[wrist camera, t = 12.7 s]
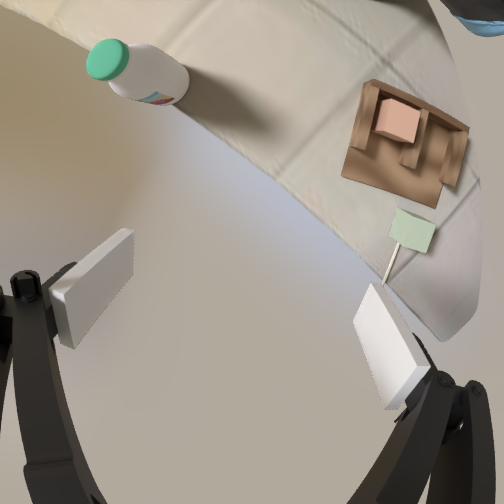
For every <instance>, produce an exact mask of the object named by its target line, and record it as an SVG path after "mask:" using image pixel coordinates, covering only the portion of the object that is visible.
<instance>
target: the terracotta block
mask: <svg viewBox="0 0 504 504" xmlns="http://www.w3.org/2000/svg"><path fill="white" fill-rule="evenodd" d="M419 117H420V111H418V110H415V109H413V108H411V107H409V106H407V105H405V104H403V103H400V102H398V101H396V100H394V99H387V100H383V101H379V102H377V103H376V107H375V111H374V116H373V120H372V124H371V128H370V131H372V132H375V133H378V134H380V135H383V136H386V137H388V138H391V139H393V140H396V141H401V142H409V143H414V139H415V135H416V130H417V126H418V121H419Z"/></svg>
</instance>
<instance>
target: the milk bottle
mask: <svg viewBox="0 0 504 504" xmlns="http://www.w3.org/2000/svg"><path fill="white" fill-rule="evenodd" d="M86 68H87V71H88V73H89V75H90V76H91V77H93V78H94V79H97V80H101V81H105V82H109V84H110V86H111V87H112V89H113V90H114V91H115V92H116V93H118V94H119V95H120V96H122V97H125V98H128V99H131V100H135V101H140V102H145V103H150V104H155V105H162V106H164V105H165V106H166V105H171V104H173V103H175V102H177V101H179V100H180V99H181V98H182V97H183V96H184V95H185V93H186V91H187V89H188V87H189V82H190V79H189V74H188V71H187V70H186V68H185V67H184V66H183V65H182V64H180V63H179V62H178V61H176V60H175V59H174V58H172V57H171V56H169V55H168V54H166V53H165V52H163V51H162V50H160V49H158V48H157V47H155V46H152V45H149V44H141V43H140V44H132V45H127V44H125V43H123V42H121V41H119V40H117V39H106V40H103V41H101V42H99V43H98V44H97V45H96V46H95V47H94V48H93V49H92V50H91V52H90V54H89V55H88V59H87V62H86Z"/></svg>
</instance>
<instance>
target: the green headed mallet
mask: <svg viewBox="0 0 504 504" xmlns="http://www.w3.org/2000/svg"><path fill="white" fill-rule="evenodd" d="M435 227H436V225H435V224H434V223H432V222H430V221H428V220H427V219H425V218H423V217H421V216H419V215H417V214H414V213H411V212H408V211H406V210H403V209H400V208H397V211H396V214H395V217H394V220H393V223H392V226H391V229H390V232H389V235H390V236H391V237H392V238H393V239H395V240H396V241H397V245H396V247H395V250H394V253H393V255H392V258H391V261H390V263H389V266H388V268H387V271H386V273H385V276H384V278H383V280H382V283H381V285H382V286H383V285H384V284H385V281H386V279H387V276H388V274H389V272H390V269H391V267H392V264H393V262H394V259H395V256H396V254H397V251H398V249H399V246H400V244H401V245H402V246H403V247H407V248H410V249H413V250H417V251H420V252H423V253H426V252H427V249H428V246H429V244H430V241H431V238H432V236H433V233H434V230H435Z"/></svg>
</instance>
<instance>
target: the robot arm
mask: <svg viewBox="0 0 504 504" xmlns="http://www.w3.org/2000/svg"><path fill="white" fill-rule="evenodd" d="M441 1H442V3H443V4H444V5H445V6H446V7H447V8H448V9H449V10H450V12H451V13H452V15H453V16H455V17H456V18H457V19H458V20H459V21H460V22H461V23H462V24H463V25H464V26H465V27H466V28H467V29H468V30H469V31H471V32H472V33H474V34H476V35H478V36H483V37H492V36H500V35H504V0H441ZM134 234H135V231H134V230H130V229H126V228H122V229H120V230H119V231H118V232H116V233H115V234H114V235H112V236H111V237H110V238H108V239H107V240H106V241H105V242H103V243H102V244H101V245H99V246H98V247H97V248H96V249H94V250H93V251H92V252H91V253H90V254H88V255H87V256H86V257H85V258H83V259H82V260H81V261H80V262H79V263H77V262H72V263H70V264H67V265H65V266H64V267H63V268H61V269H60V270H59V272H57V273H55V274H54V276H52V277H51V278H49V279H48V280H47V281H46V282H45V283H44V284H42V285H41V283H40V277H39V274H38V273H37V272H35V271H32V270H24V271H20V272H18V273H16V274H14V275H13V276H12V277H11V279H10V283H11V288H12V292H13V296H7V295H4V294H3V290H2V287H1V286H0V430H1V420H2V412H3V404H4V397H5V390H6V386H7V380H8V375H9V370H10V365H11V361H12V357H13V376H14V387H15V398H16V406H17V413H18V420H19V425H20V431H21V436H22V441H23V446H24V451H25V455H26V459H27V464H26V465H25V466H24V470H23V472H24V477H25V480H26V484H27V487H28V490H29V494H30V497H31V500H32V502H33V504H107V502H106V500H105V499H104V497H103V495H102V494H101V492H100V490H99V489H98V487H97V485H96V483H95V481H94V478H93V476H92V474H91V471H90V469H89V467H88V464H87V462H86V459H85V457H84V454H83V452H82V449H81V446H80V443H79V440H78V437H77V435H76V431H75V428H74V425H73V422H72V419H71V415H70V412H69V408H68V405H67V401H66V397H65V393H64V389H63V385H62V381H61V376H60V371H59V367H58V362H57V356H56V350H55V345H54V341H53V338H54V337H55V336H56V335H57V333H58V336H59V340H60V343H61V344H63V345H65V346H67V347H70V348H72V349H75V348H76V347H77V346H78V344H79V343H80V342H81V340H82V339H83V338H84V336H85V335H86V333H87V332H88V331H89V330H90V328H91V327H92V326H93V324H94V323H95V322H96V320H97V319H98V318H99V316H100V315H101V314H102V313H103V311H104V310H105V309H106V308H107V306H108V305H109V304H110V303H111V301H112V300H113V299H114V297H115V296H116V295H117V294H118V292H119V291H120V290H121V289H122V287H123V286H124V285H125V284H126V283H127V282H128V280H129V279H130V278H131V277H132V275H133V255H134ZM353 323H354V326H355V329H356V332H357V334H358V337H359V339H360V342H361V345H362V348H363V350H364V353H365V356H366V358H367V361H368V364H369V367H370V370H371V373H372V376H373V379H374V381H375V384H376V387H377V390H378V393H379V397H380V400H381V402H382V406H383V409H384V410H391V409H392V410H393V409H398V408H399V407H400V406H401V404H402V403H403V402H404V401H405V403H406V405H407V408H406V409H405V410H404V411H403V412H402V413H401V415H400V416H399V417H398V418H397V419H396V420H395V421H394V422H395V423H396V422H397V421H398V422H397V424H396V426H395V428H394V430H393V432H392V434H391V436H390V437H389V439H388V441H387V443H386V445H385V446H384V448H383V450H382V451H381V453H380V455H379V457H378V458H377V460H376V461H375V463H374V465H373V466H372V468H371V469H370V471H369V473H368V474H367V476H366V477H365V479H364V480H363V482H362V483H361V484H360V486H359V487H358V489H357V490H356V492H355V493H354V494H353V496H352V497H351V499H350V500H349V501H348V503H347V504H418V502H419V499H420V497H421V495H422V493H423V491H424V488H425V486H426V484H427V481H428V479H429V476H430V474H431V477H430V483H429V490H428V495H427V500H426V504H495V492H496V472H495V451H494V440H493V430H492V423H491V415H490V409H489V403H488V397H487V393H486V390H485V388H484V387H483V385H482V384H481V383H480V382H477V381H474V380H471V381H469V382H468V383H467V384H466V386H465V387H461V386H457V385H456V384H455V381H454V379H453V378H452V377H451V376H450V375H449V374H448V373H446V372H444V371H438V370H437V368H436V366H435V364H434V363H433V361H432V359H431V357H430V355H429V354H427V353H428V352H427V350H426V349H425V348H424V345H423V343H422V342H421V340H420V339H419V338H418V337H417V336H416V335H415V334H414V333H412V332H411V331H410V329H409V327H408V325H407V324H406V322H405V320H404V319H403V317H402V315H401V314H400V312H399V311H398V309H397V307H396V306H395V304H394V303H393V301H392V300H391V298H390V296H389V295H388V293H387V292H386V290H385V289H384V287H383V286H382V285H381V284H375V283H370V286H369V287H368V290H367V292H366V294H365V297H364V299H363V301H362V303H361V305H360V307H359V310H358V312H357V314H356V316H355V318H354V320H353ZM462 423H463V425H462V427H461V429H460V425H461V424H462Z"/></svg>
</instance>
